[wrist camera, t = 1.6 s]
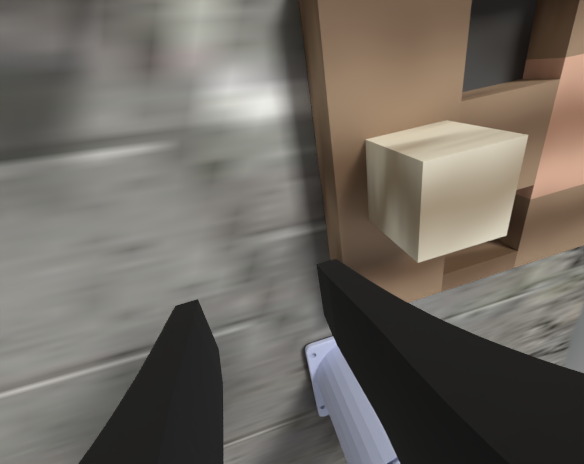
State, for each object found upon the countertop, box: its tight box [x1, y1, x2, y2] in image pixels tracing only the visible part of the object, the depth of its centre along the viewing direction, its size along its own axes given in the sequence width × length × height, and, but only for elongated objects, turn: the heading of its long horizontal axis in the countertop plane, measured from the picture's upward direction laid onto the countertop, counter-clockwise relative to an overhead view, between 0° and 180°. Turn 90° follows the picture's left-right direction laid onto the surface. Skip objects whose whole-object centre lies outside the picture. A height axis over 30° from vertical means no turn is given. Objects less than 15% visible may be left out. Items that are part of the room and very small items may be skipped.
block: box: [365, 120, 528, 263], centre depth 14 cm, size 4×4×4 cm
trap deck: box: [299, 0, 584, 303], centre depth 18 cm, size 19×22×2 cm
